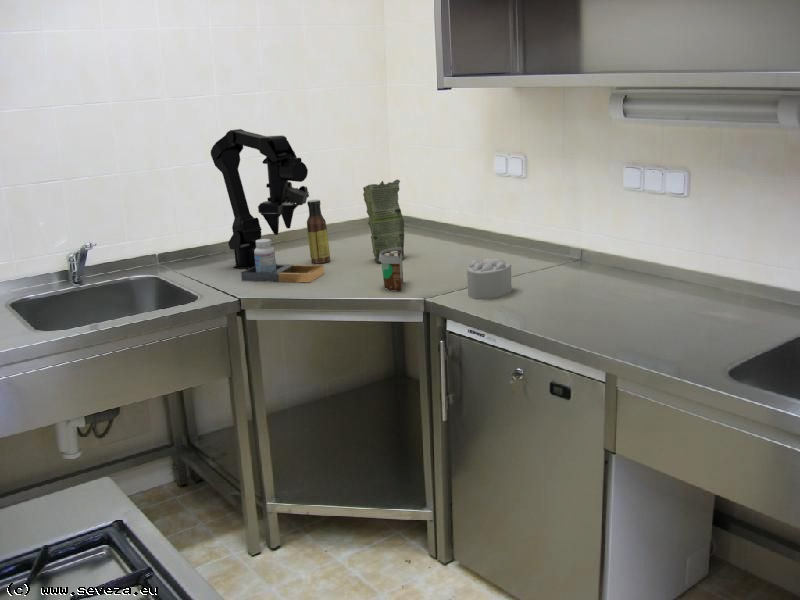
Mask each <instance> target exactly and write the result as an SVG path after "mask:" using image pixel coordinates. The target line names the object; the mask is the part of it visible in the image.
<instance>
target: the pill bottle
mask: <svg viewBox="0 0 800 600" xmlns="http://www.w3.org/2000/svg"><path fill="white" fill-rule="evenodd" d="M271 245H272V239H270V238H261V239H259V240H256V249H255V250H254V256H255V266H256V272H274V271H276V264H277V263H276V262H277V261H276V254H275V251H276V250H275V248H274V247H273V246H271Z"/></svg>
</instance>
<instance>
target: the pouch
mask: <svg viewBox="0 0 800 600" xmlns="http://www.w3.org/2000/svg"><path fill="white" fill-rule="evenodd" d="M400 183H401V180H400V179H398V178H397V179H395V180H393V181H392V182H387V183H386V184H385V183H384V181H383V180H382V181H381V182H380V183H378V184H377V183H374V184H373V183H371V184H368V185H366V186H364V187H362V189H363V201H364V203H365V206H366V213H367V215H368V221H367V224H368V226H369V227H370V232H371V235H370V239H371V245H372V253H373V257H374V258H375V260H376V262H377V263H380V264H381V262H380V261H379V254H380V252H381V251H382V250H385V249H389V248H396V247H402V258H404V257H405V252H404V250H405V249H404V248H405V247H404V246H405V220H404V217H403V215H402V209H401V207H400V204H399V191H400Z"/></svg>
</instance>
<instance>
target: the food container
mask: <svg viewBox="0 0 800 600" xmlns="http://www.w3.org/2000/svg"><path fill="white" fill-rule="evenodd" d="M379 261H380V262H381V263H380V262H379V263H380V264H381V271H382V278H383V279H382V280H383V286H384V289H385V288H387V289H389V290H388V291H391V290H397V291H396V292H402V291H401V290H403V286H404V272H403V256H402V247H396V248H389V249H385V250H382V251H381V252H380V254H379ZM387 289H386V290H387Z"/></svg>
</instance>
